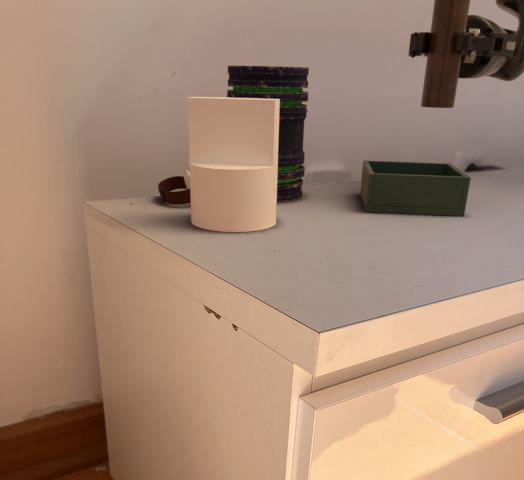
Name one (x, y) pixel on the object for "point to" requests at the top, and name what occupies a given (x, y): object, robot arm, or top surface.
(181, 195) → the watch
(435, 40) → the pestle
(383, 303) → the top surface
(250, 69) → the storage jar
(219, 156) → the cylinder with rectangular tab
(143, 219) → the top surface
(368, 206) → the bin
